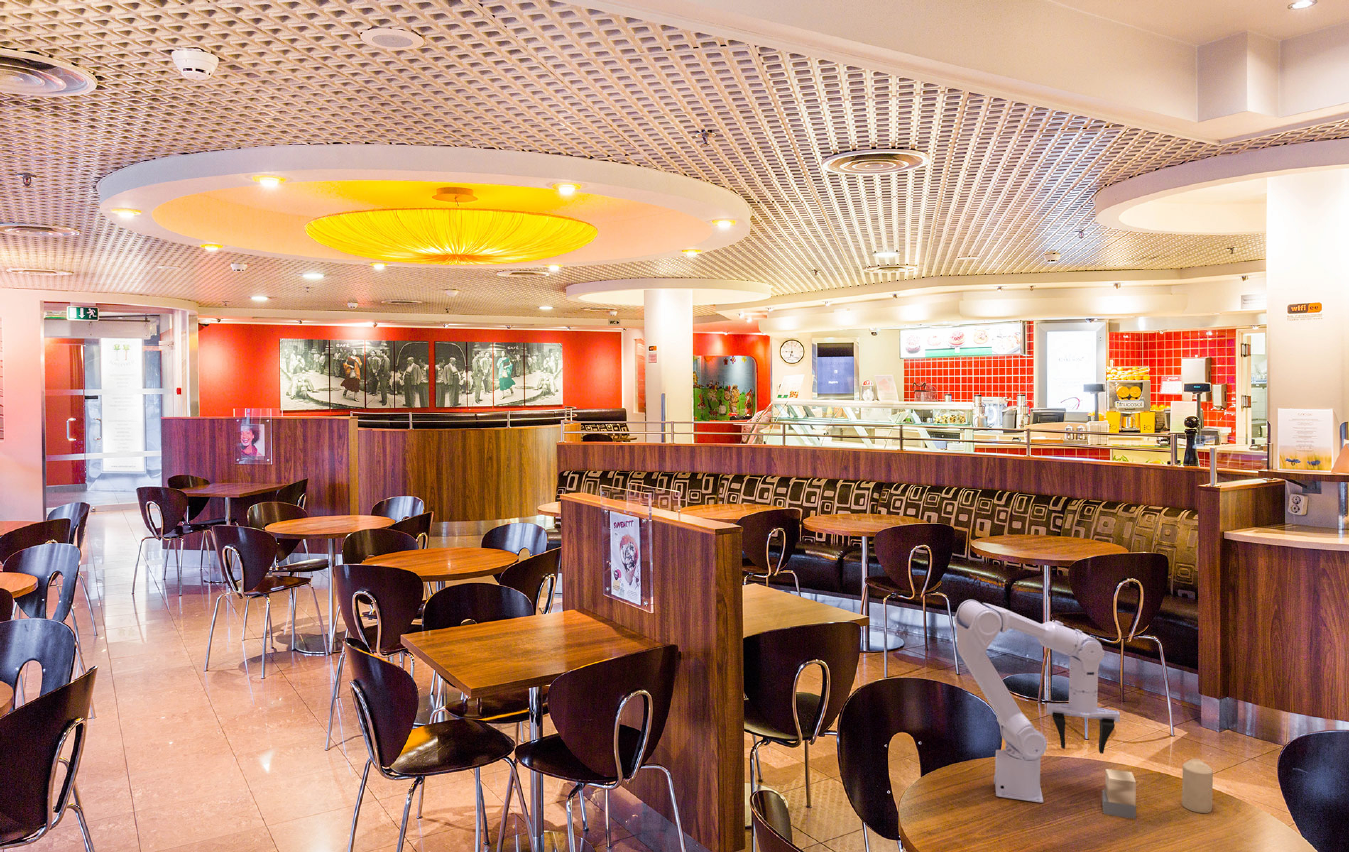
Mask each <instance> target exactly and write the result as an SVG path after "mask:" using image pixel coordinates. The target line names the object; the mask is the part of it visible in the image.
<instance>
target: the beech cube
mask: <svg viewBox="0 0 1349 852" xmlns="http://www.w3.org/2000/svg"><path fill="white" fill-rule="evenodd" d="M1104 780H1105V782H1104V783H1105V786H1104V790H1105V793H1106V796H1107V799H1108V801H1109V802H1112V803H1119V804H1126V805H1133V806H1135V804H1136V800H1137V799H1136V798H1137V797H1136V796H1137V795H1136V793H1137V792H1136V791H1137V782H1136V779H1135V776H1134V774H1133V772H1132V771H1126V770H1117V769H1110V768H1105V779H1104Z"/></svg>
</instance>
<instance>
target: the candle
mask: <svg viewBox="0 0 1349 852" xmlns="http://www.w3.org/2000/svg"><path fill="white" fill-rule="evenodd" d="M1213 781H1214V770H1213V769H1212V767H1210V766H1209V765H1208V764H1207V763H1205V761H1202V760H1201V759H1200V758H1191V759H1189V760H1187V761H1186V762H1184V763H1183V764H1182V782H1181V784H1182V788H1181V805H1182V807H1184V808H1185V809H1186V810H1188V811H1190V812H1194V813H1200V814H1209V813H1211V812H1212V811H1213V784H1214V783H1213Z"/></svg>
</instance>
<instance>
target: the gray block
mask: <svg viewBox="0 0 1349 852" xmlns="http://www.w3.org/2000/svg"><path fill="white" fill-rule="evenodd" d="M1101 791H1102V794H1101V795H1102V796H1101V797H1102V799H1101V801H1102V802H1101V804H1102V812H1103V813H1102V814H1104V815H1109V816H1112V817H1113V816H1115V817H1118V818H1119V817H1120V818H1125V819H1130V818H1133V819H1132V820H1135V819H1136V820H1137V805H1136V803H1135V806H1133V805H1126V804H1119V803H1112V802H1109V801H1108V799H1107V796H1106V793H1105V789H1101Z"/></svg>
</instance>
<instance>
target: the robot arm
mask: <svg viewBox="0 0 1349 852" xmlns="http://www.w3.org/2000/svg"><path fill="white" fill-rule="evenodd" d="M953 621H954V624H955V626H956V641H957V644H956V645H957V648H956V649H957V652H958V654H959V656H960V657H961V659H962V661H963V662H964V664H965V666H966V668H967V670H968V671H969V672H970V675H972V677H973V679H974V680H975V683H976V684H977V685H978V687H979V689H980V690H981V692H982V694H983V695H984V697H985V699H986V700H987V702H988V703H989V705H990V707H991V708H992V709H993V712H994V713H995V715H996V722H997V723H998V725H999V729H1000V731H999V732H1000V736H1001V737H1002V739H1003V740H1004V741H1005V748H1004V749H995V760H994V762H995V764H994V765H995V767H994V768H995V771H994V775H993V784H994V785H995V786H994V787H995V796H996V797H1000V798H1005V799H1013V800H1020V801H1027V802H1034V803H1035V802H1036V803H1044V797H1043V793H1042V788H1041V759H1042V756H1043V755H1044V754H1045V752H1046V751H1047V746H1048V741H1047V738H1046V737H1045V735H1044V733H1042V732H1041V731H1039V730H1038V729H1036V728H1035V727H1034V725H1033V724H1032V722H1031V721H1030V720H1029V719H1028V718H1027V716H1026V715H1025V714H1024V713H1023V712H1022V710H1021V709H1020V707H1019V705H1018V704H1017V702H1016V700H1015V699H1014V697H1013V695H1012V693H1010V691H1009V689H1008V687H1007V686H1006V684H1005V683H1004V680H1002V678H1001V676H1000V674H999V673H998V671H997V669H996V668H995V666H994V665H993V663H992V661H991V659H990V658H989V656H988V655H987V650H988V648H989V647H990V645H991V643H992V642H993V641H994V639H996V638H997V636H998V634H999V633H1006V632H1007V631H1008V630H1009V629H1012V630H1013V631H1017V632H1018V633H1019V632H1020V633H1023V634H1026V635H1029V636H1030V637H1031V636H1032V637H1035V638H1037V640H1038V641H1039V644H1040V646H1043V647H1044V648H1047V649H1049V650H1052V651H1055V652H1057V653H1060V654H1063V655H1066V656H1068V657H1069V674H1068V675H1069V679H1068V680H1069V681H1068V683H1069V684H1068V703H1051V702H1047V703H1046V713H1047V715H1049V716H1050V715H1052V716H1051V717H1052V720H1053V721H1054V724H1055V727H1056V729H1057V731H1058V735H1059V740H1060V748H1061V749H1063V750H1065V749H1066V735H1065V732H1066V719H1065V717H1066V716H1069V717H1076V718H1077V717H1078V718H1085V719H1086V718H1087V719H1094V720H1095V719H1096V720H1099V739H1098V752H1099V754H1104V751H1105V747H1106V744H1107V741H1108V740H1109V737H1110V735H1111V734H1112V733H1113V731H1114V729H1115V727H1116V726H1115V723H1121V719H1120V718H1121V717H1120V716H1121V714H1120V712H1119V710H1114V709H1108V708H1104V707H1098V695H1099V694H1098V692H1099V691H1098V690H1099V687H1098V686H1099V684H1098V683H1099V670H1100V663H1101V662H1102V661H1103V659H1104V657H1105V653H1106V652H1105V650H1103V645H1102V643H1101V642H1100V641H1099V640H1097V639H1096V638H1094V637H1092V636H1090V635H1088V634H1086V633H1084V632H1083V631H1082V630H1080V629H1077V628H1075V629H1073V628H1069V627H1067V626H1064V623H1063V622H1061V621H1059V620H1054V621H1051V620H1050V621H1046V622H1044V623H1039V622H1038V621H1035V620H1033V619H1030V618H1027V617H1025V616H1022V615H1020V614H1018V613H1016V612H1013V611H1012V610H1009V609H1006V608H1004V607H1000V606H996V605H993V604H990V603H987V602H982V603H981V602H980V601H977V600H975V599H967V600H964V601H963V602H961V603H960V604H959V606H958V608H957V611H956V613H955V616H954V618H953Z"/></svg>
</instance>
